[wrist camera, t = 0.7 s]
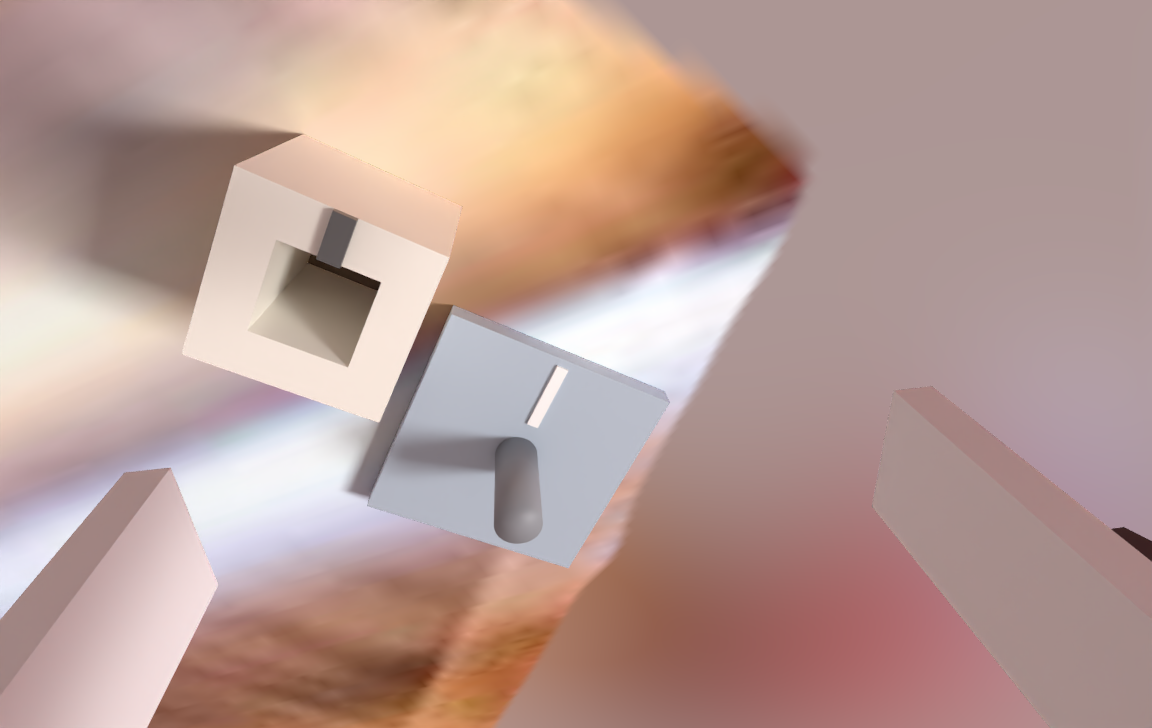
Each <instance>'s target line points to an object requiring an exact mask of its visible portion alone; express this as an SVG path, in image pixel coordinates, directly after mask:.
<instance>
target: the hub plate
mask: <svg viewBox="0 0 1152 728" xmlns="http://www.w3.org/2000/svg"><path fill="white" fill-rule="evenodd" d="M669 403H670V402H669V400H668V397H667V395H666V393H665V392H664V391H662V390H659V389H657V388H655V387H652V386H650V385H647V384H645V383H642V382H640V381H637V380H635V379H633V378H630V377H628V376H625V375H623V374H620V373H618V372H616V371H613V370H611V369H608V368H606V367H603V366H601V365H598V364H596V363H594V362H591V361H589V360H586V359H584V358H581V357H579V356H576V355H574V354H572V353H569V352H567V351H564V350H562V349H559V348H557V347H554V346H552V345H550V344H547V343H545V342H542V341H540V340H537V339H535V338H533V337H530V336H528V335H525V334H523V333H520V332H518V331H515V330H513V329H511V328H508V327H506V326H503V325H501V324H498V323H496V322H493V321H491V320H489V319H486V318H484V317H481V316H479V315H476V314H474V313H472V312H469V311H467V310H464V309H462V308H459V307H457V306H454V305H453V307H452V309H451V312H450V314H449V316H448V318H447V321H446V323H445V325H444V327H443V330H442V332H441V334H440V336H439V339H438V341H437V343H436V346H435V348H434V350H433V352H432V355H431V357H430V359H429V361H428V364H427V366H426V368H425V371H424V373H423V375H422V377H421V380H420V382H419V384H418V386H417V389H416V391H415V393H414V395H413V398H412V400H411V402H410V405H409V407H408V409H407V411H406V414H405V416H404V418H403V420H402V423H401V425H400V427H399V430H398V432H397V434H396V436H395V439H394V441H393V443H392V445H391V448H390V450H389V452H388V454H387V457H386V459H385V461H384V464H383V466H382V468H381V470H380V473H379V475H378V477H377V479H376V482H375V484H374V486H373V489H372V491H371V494H370V497H369V500H368V504H367V506H369V507H372V508H375V509H379V510H382V511H385V512H388V513H392V514H395V515H398V516H401V517H404V518H408V519H411V520H414V521H417V522H421V523H424V524H427V525H430V526H434V527H437V528H440V529H443V530H447V531H450V532H453V533H456V534H459V535H463V536H466V537H469V538H472V539H476V540H479V541H482V542H485V543H489V544H492V545H495V546H498V547H501V548H505V549H508V550H511V551H514V552H518V553H521V554H524V555H527V556H531V557H534V558H537V559H540V560H544V561H547V562H550V563H553V564H556V565H560V566H563V567H566V568H569V566H570V565H571V563H572V561H573V560H574V558H575V556H576V555H577V553H578V552H579V550H580V548H581V547H582V545H583V543H584V542H585V540H586V539H587V537H588V535H589V534H590V532H591V530H592V529H593V527H594V526H595V524H596V522H597V521H598V519H599V517H600V516H601V514H602V512H603V511H604V509H605V508H606V506H607V504H608V503H609V501H610V499H611V498H612V496H613V495H614V493H615V491H616V490H617V488H618V486H619V485H620V483H621V482H622V480H623V478H624V477H625V475H626V473H627V472H628V470H629V468H630V467H631V465H632V464H633V462H634V460H635V459H636V457H637V455H638V454H639V452H640V451H641V449H642V447H643V446H644V444H645V442H646V441H647V439H648V438H649V436H650V434H651V433H652V431H653V429H654V428H655V426H656V425H657V423H658V421H659V420H660V418H661V416H662V415H663V413H664V411H665V410H666V408H667V407H668V405H669Z"/></svg>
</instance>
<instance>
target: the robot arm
mask: <svg viewBox="0 0 1152 728" xmlns="http://www.w3.org/2000/svg"><path fill="white" fill-rule="evenodd" d="M872 507H873V508H874V509H875V511H876V512H877V513H878V514H879V516H880V517H881V518H882V520H883V521H884V522H885V523H886V524H887V526H888V527H889V528H890V529H891V531H892V532H893V533H894V534H895V536H896V537H897V538H898V539H899V541H900V542H901V543H902V544H903V546H904V547H905V548H906V549H907V551H908V552H909V553H910V554H911V556H912V557H913V558H914V559H915V561H916V562H917V563H918V564H919V566H920V567H921V568H922V569H923V570H924V572H925V573H926V574H927V576H928V577H929V578H930V579H931V581H932V582H933V583H934V584H935V585H936V587H937V588H938V589H939V590H940V591H941V593H942V594H943V595H944V597H945V598H946V599H947V600H948V601H949V603H950V604H951V605H952V607H953V608H954V609H955V610H956V611H957V613H958V614H959V615H960V617H961V618H962V619H963V620H964V621H965V623H966V624H967V625H968V627H969V628H970V629H971V630H972V631H973V633H974V634H975V635H976V636H977V638H978V639H979V640H980V641H981V643H982V644H983V645H984V646H985V648H986V649H987V650H988V651H989V653H990V654H991V655H992V656H993V658H994V659H995V660H996V661H997V662H998V664H999V665H1000V666H1001V667H1002V668H1003V670H1004V671H1005V673H1006V674H1007V675H1008V676H1009V677H1010V679H1011V680H1012V681H1013V682H1014V684H1015V685H1016V686H1017V687H1018V689H1019V690H1020V691H1021V692H1022V693H1023V695H1024V696H1025V697H1026V699H1027V700H1028V701H1029V702H1030V704H1031V705H1032V706H1033V707H1034V709H1035V710H1036V711H1037V712H1038V714H1039V715H1040V716H1041V717H1042V719H1043V720H1044V721H1045V722H1046V723H1047V725H1048V726H1049V727H1050V728H1152V541H1150V540H1148V539H1146V538H1144V537H1142V536H1140V535H1138V534H1136V533H1134V532H1132V531H1130V530H1128V529H1126V528H1124V527H1122V528H1115V529H1110V528H1109V527H1108V526H1106V525H1105V524H1104V523H1103V522H1101V521H1100V520H1099V519H1097V518H1096V517H1095V516H1094V515H1093V514H1091V513H1090V512H1089V511H1088V510H1086V509H1085V508H1084V507H1083V506H1081V505H1080V504H1079V503H1078V502H1076V501H1075V500H1074V499H1073V498H1071V497H1070V496H1069V495H1068V494H1066V493H1065V492H1064V491H1063V490H1061V489H1060V488H1059V487H1058V486H1056V485H1055V484H1054V483H1053V482H1051V481H1050V480H1049V479H1048V478H1046V477H1045V476H1044V475H1043V474H1041V473H1040V472H1039V471H1038V470H1036V469H1035V468H1034V467H1032V466H1031V465H1030V464H1029V463H1028V462H1026V461H1025V460H1024V459H1022V458H1021V457H1020V456H1019V455H1018V454H1016V453H1015V452H1014V451H1013V450H1011V449H1010V448H1009V447H1007V446H1006V445H1005V444H1004V443H1003V442H1001V441H1000V440H999V439H998V438H996V437H995V436H994V435H993V434H991V433H990V432H989V431H988V430H986V429H985V428H984V427H983V426H981V425H980V424H979V423H977V422H976V421H975V420H974V419H972V418H971V417H970V416H969V415H967V414H966V413H965V412H964V411H962V410H961V409H960V408H959V407H957V406H956V405H955V404H954V403H952V402H951V401H950V400H949V399H947V398H946V397H945V396H944V395H942V394H941V393H940V392H939V391H937V390H936V389H935V388H934V387H932V386H929V387H920V388H910V389H901V390H894V391H893V395H892V401H891V406H890V411H889V417H888V422H887V427H886V433H885V438H884V444H883V449H882V454H881V460H880V465H879V471H878V476H877V481H876V487H875V492H874V497H873V504H872ZM217 587H218V583H217V581H216V578H215V576H214V573H213V571H212V568H211V566H210V564H209V561H208V559H207V556H206V554H205V551H204V549H203V546H202V544H201V541H200V539H199V536H198V534H197V532H196V529H195V527H194V524H193V522H192V519H191V517H190V514H189V512H188V509H187V507H186V504H185V502H184V499H183V497H182V495H181V492H180V490H179V487H178V485H177V482H176V480H175V477H174V475H173V472H172V470H171V468H164V469H154V470H145V471H136V472H126V473H124V474H123V475H122V476H121V478H120V479H119V480H118V481H117V482H116V483H115V485H114V486H113V487H112V488H111V489H110V491H109V492H108V493H107V494H106V495H105V496H104V498H103V499H102V500H101V501H100V502H99V504H98V505H97V506H96V507H95V508H94V509H93V511H92V512H91V513H90V514H89V515H88V517H87V518H86V519H85V520H84V521H83V523H82V524H81V525H80V526H79V527H78V528H77V530H76V531H75V532H74V533H73V534H72V536H71V537H70V538H69V539H68V540H67V541H66V543H65V544H64V545H63V546H62V547H61V549H60V550H59V551H58V552H57V553H56V554H55V556H54V557H53V558H52V559H51V560H50V562H49V563H48V564H47V565H46V566H45V568H44V569H43V570H42V571H41V572H40V573H39V575H38V576H37V577H36V578H35V579H34V581H33V582H32V583H31V584H30V585H29V586H28V588H27V589H26V590H25V591H24V592H23V594H22V595H21V596H20V597H19V598H18V600H17V601H16V602H15V603H14V604H13V605H12V607H11V608H10V609H9V610H8V611H7V613H6V614H5V615H4V616H3V617H2V618H1V620H0V728H147V726H148V724H149V722H150V720H151V718H152V716H153V714H154V712H155V711H156V709H157V707H158V705H159V703H160V701H161V699H162V697H163V695H164V693H165V691H166V689H167V687H168V685H169V683H170V681H171V679H172V677H173V675H174V673H175V671H176V669H177V667H178V665H179V663H180V661H181V659H182V657H183V655H184V653H185V651H186V649H187V647H188V645H189V643H190V641H191V639H192V637H193V635H194V633H195V631H196V629H197V627H198V625H199V623H200V621H201V619H202V617H203V615H204V613H205V611H206V609H207V607H208V605H209V603H210V601H211V599H212V597H213V595H214V593H215V591H216V589H217Z"/></svg>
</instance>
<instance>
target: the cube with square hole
mask: <svg viewBox="0 0 1152 728" xmlns="http://www.w3.org/2000/svg"><path fill="white" fill-rule="evenodd" d="M461 210H462V206H460V205H458V204H456V203H454V202H452V201H449V200H447V199H445V198H443V197H441V196H438V195H436V194H434V193H432V192H430V191H427V190H425V189H423V188H421V187H419V186H416V185H414V184H412V183H410V182H408V181H405V180H403V179H401V178H399V177H397V176H394V175H392V174H390V173H388V172H386V171H383V170H381V169H379V168H377V167H375V166H372V165H370V164H368V163H366V162H364V161H362V160H359V159H357V158H355V157H353V156H351V155H348V154H346V153H344V152H342V151H340V150H337V149H335V148H333V147H331V146H329V145H326V144H324V143H322V142H320V141H318V140H315V139H313V138H311V137H309V136H307V135H304V134H302V135H300V136H298V137H296V138H293V139H291V140H289V141H287V142H285V143H282V144H280V145H278V146H276V147H273V148H271V149H269V150H267V151H265V152H262V153H260V154H258V155H256V156H254V157H251V158H249V159H247V160H245V161H243V162H240V163H238V164H236V165H234V168H233V172H232V175H231V179H230V182H229V186H228V190H227V193H226V197H225V200H224V204H223V208H222V211H221V215H220V218H219V222H218V225H217V229H216V233H215V236H214V240H213V243H212V247H211V251H210V254H209V258H208V261H207V265H206V268H205V272H204V276H203V279H202V283H201V286H200V290H199V294H198V297H197V301H196V304H195V308H194V311H193V315H192V319H191V322H190V326H189V329H188V333H187V337H186V340H185V344H184V347H183V351H182V355H185V356H188V357H190V358H193V359H196V360H199V361H202V362H205V363H208V364H211V365H214V366H216V367H219V368H222V369H225V370H228V371H231V372H234V373H237V374H240V375H242V376H245V377H248V378H251V379H254V380H257V381H260V382H263V383H266V384H268V385H271V386H274V387H277V388H280V389H283V390H286V391H289V392H292V393H294V394H297V395H300V396H303V397H306V398H309V399H312V400H315V401H317V402H320V403H323V404H326V405H329V406H332V407H335V408H338V409H341V410H343V411H346V412H349V413H352V414H355V415H358V416H361V417H364V418H367V419H369V420H372V421H375V422H378V423H379V422H380V420H381V418H382V415H383V413H384V411H385V408H386V406H387V404H388V401H389V399H390V396H391V394H392V392H393V389H394V387H395V385H396V382H397V380H398V378H399V375H400V373H401V371H402V368H403V366H404V364H405V361H406V359H407V357H408V354H409V352H410V350H411V347H412V345H413V342H414V340H415V338H416V335H417V333H418V331H419V328H420V326H421V324H422V321H423V319H424V317H425V314H426V312H427V310H428V307H429V305H430V303H431V300H432V298H433V295H434V293H435V291H436V288H437V286H438V284H439V281H440V279H441V277H442V274H443V272H444V270H445V267H446V265H447V263H448V260H449V258H450V254H451V250H452V246H453V242H454V238H455V234H456V230H457V226H458V222H459V218H460V214H461ZM311 254H313V255H315V256H317V257H316V260H319V261H321V262H324V263H326V264H329V265H331V266H334V267H336V268H339V269H340V268H341V266H342V267H345V268H347V269H350V270H352V271H355V272H357V273H359V274H362V275H364V276H367V277H369V278H372V279H374V280H377V281H379V282H381V284H380V287H379V290H378V291H376V290H374V289H371V288H369V287H366V286H364V285H361V284H359V283H356V282H354V281H352V280H349V279H347V278H344V277H342V276H339V275H337V274H334V273H332V272H329V271H327V270H324V269H322V268H319V267H317V266H314V265H312V264H309V263H308V261H309V258H310V255H311Z"/></svg>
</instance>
